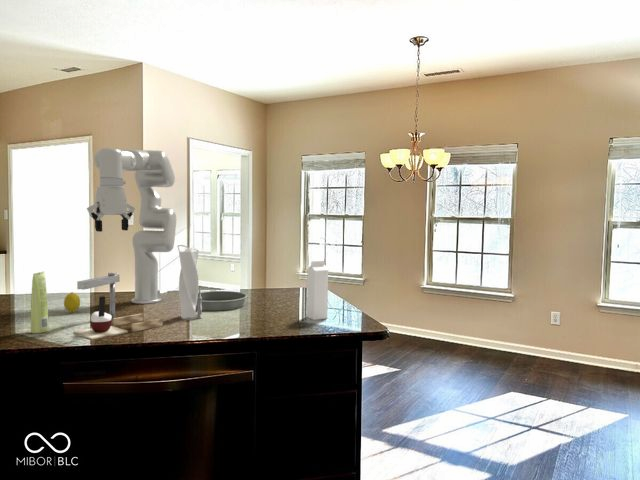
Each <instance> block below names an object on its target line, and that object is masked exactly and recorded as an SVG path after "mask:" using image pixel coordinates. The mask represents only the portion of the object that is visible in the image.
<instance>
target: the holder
mask: <svg viewBox="0 0 640 480" xmlns="http://www.w3.org/2000/svg"><path fill="white" fill-rule="evenodd" d="M127 324H131V332H139V331H143V330H147V329H153V328H159V327H163V318H162V317H161V318H156V319H150V320H145V321H144V313H138V314H137V313H136V314H131V315H125V316H119V317H115V318H113V319H112V326H114V327H117V326H122V325H127Z"/></svg>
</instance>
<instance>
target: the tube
mask: <svg viewBox="0 0 640 480" xmlns="http://www.w3.org/2000/svg"><path fill="white" fill-rule="evenodd" d="M32 275H33V276H32V279H31V280H32V281H31V283H32V284H31V293H30V294H31V298H30V299H31V300H30V301H31V302H30V307H31V308H30V333H32V334H43V333H45V332H48V331H49V311H48V310H49V309H48V308H49V307H48V294H47V293H48V291H47V284H46V283H47V282H46V275H45V271H39V272H35V273H33V274H32Z"/></svg>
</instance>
